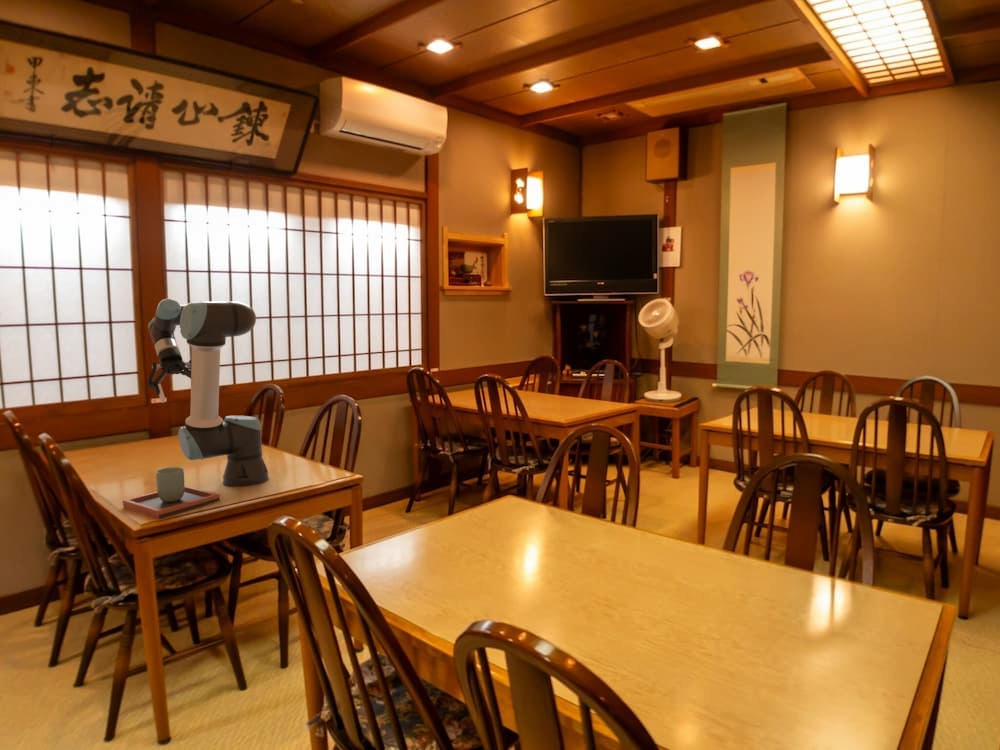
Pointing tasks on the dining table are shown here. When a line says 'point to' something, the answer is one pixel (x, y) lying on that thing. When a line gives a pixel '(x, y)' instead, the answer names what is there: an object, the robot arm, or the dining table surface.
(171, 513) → the tray
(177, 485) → the cup
